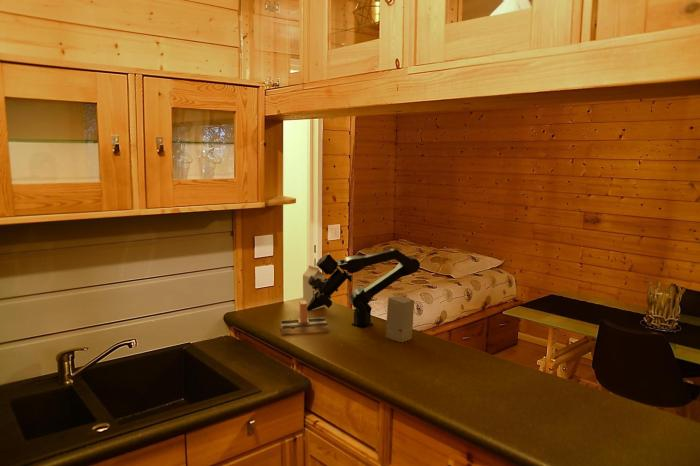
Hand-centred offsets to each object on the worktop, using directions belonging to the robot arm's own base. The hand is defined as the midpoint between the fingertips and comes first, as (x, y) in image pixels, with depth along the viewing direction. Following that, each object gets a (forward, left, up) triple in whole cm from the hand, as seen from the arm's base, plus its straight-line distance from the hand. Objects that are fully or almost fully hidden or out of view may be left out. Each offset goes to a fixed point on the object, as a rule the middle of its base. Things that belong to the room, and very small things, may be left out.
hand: (307, 310), depth 215 cm
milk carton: (+19, -21, -8) cm, 30 cm away
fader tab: (+1, +1, -5) cm, 6 cm away
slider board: (+1, +1, -8) cm, 8 cm away
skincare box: (-34, -17, -8) cm, 39 cm away
